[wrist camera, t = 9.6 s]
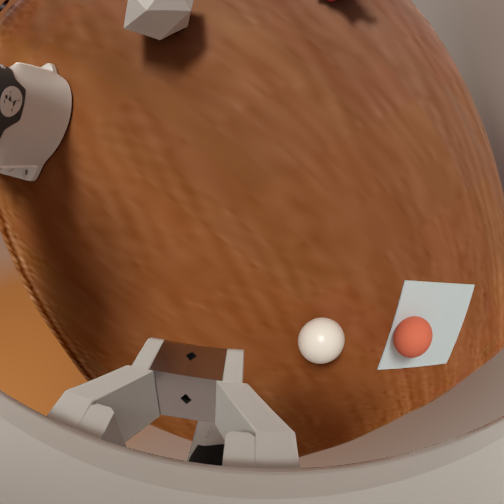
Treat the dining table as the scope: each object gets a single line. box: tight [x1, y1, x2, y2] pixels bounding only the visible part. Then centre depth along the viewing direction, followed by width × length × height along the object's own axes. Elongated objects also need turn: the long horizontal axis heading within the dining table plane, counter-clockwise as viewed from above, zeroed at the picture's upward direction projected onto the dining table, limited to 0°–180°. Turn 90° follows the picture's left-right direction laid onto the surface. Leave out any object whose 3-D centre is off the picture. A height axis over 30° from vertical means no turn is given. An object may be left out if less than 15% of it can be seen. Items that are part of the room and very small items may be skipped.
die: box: [124, 0, 193, 40], centre depth 21 cm, size 8×9×10 cm
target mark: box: [377, 280, 475, 370], centre depth 33 cm, size 14×14×1 cm
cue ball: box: [298, 318, 345, 364], centre depth 31 cm, size 6×6×6 cm
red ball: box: [393, 316, 433, 358], centre depth 31 cm, size 6×6×6 cm
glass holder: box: [187, 421, 225, 466], centre depth 31 cm, size 9×14×15 cm, turn 100°
